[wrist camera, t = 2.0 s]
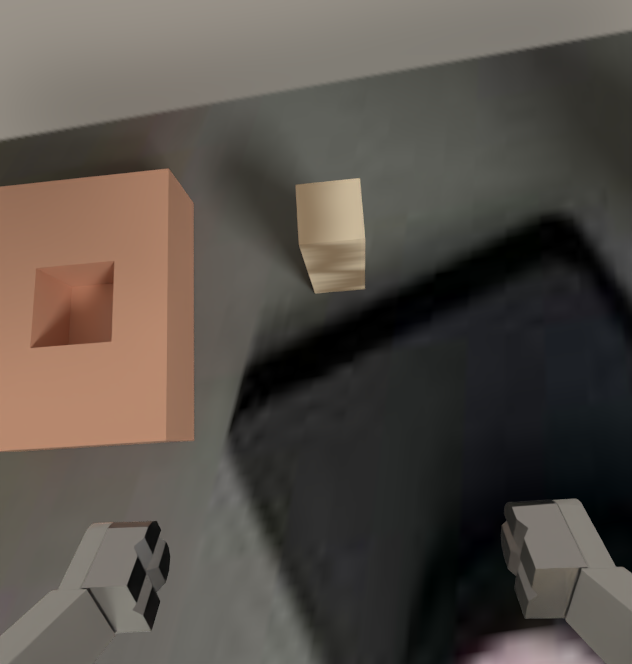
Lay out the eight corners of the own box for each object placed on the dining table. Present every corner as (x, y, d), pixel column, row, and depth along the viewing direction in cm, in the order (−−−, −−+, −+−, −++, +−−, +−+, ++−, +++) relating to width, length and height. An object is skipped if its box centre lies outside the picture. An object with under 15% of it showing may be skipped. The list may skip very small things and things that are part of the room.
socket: (193, 203, 42) (168, 168, 36) (194, 440, 37) (165, 440, 32) (39, 218, 43) (-7, 187, 38) (22, 451, 38) (-33, 453, 33)
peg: (360, 242, 40) (359, 178, 30) (364, 289, 39) (365, 238, 29) (312, 246, 40) (295, 184, 30) (314, 293, 39) (298, 244, 29)
